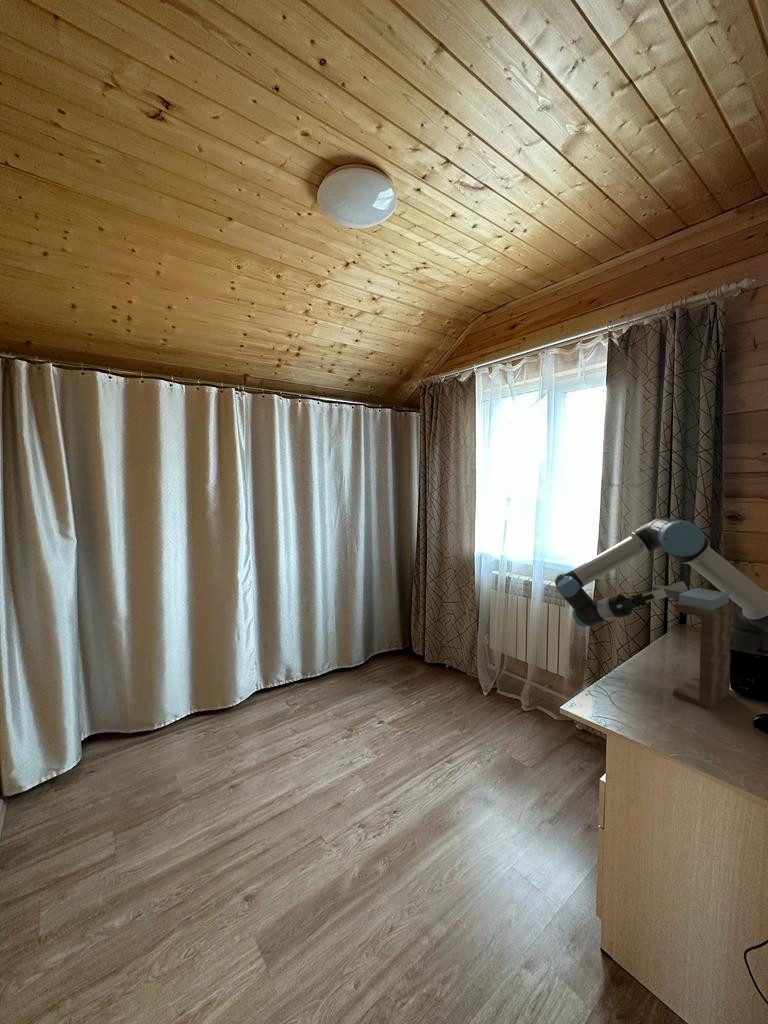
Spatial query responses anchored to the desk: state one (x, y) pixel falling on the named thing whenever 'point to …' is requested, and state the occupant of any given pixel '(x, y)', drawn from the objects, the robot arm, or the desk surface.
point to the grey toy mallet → (696, 597)
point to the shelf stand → (710, 657)
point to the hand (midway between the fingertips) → (675, 588)
